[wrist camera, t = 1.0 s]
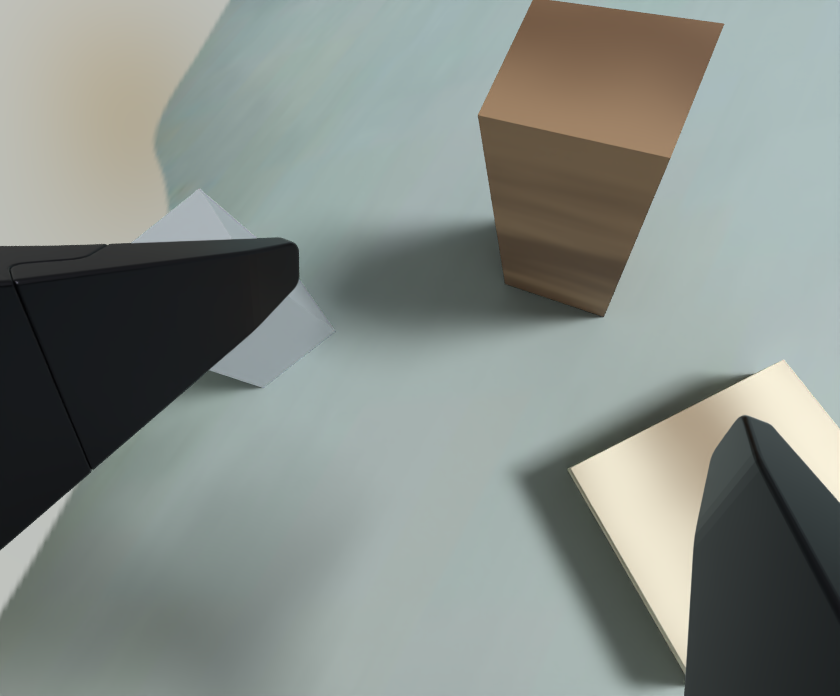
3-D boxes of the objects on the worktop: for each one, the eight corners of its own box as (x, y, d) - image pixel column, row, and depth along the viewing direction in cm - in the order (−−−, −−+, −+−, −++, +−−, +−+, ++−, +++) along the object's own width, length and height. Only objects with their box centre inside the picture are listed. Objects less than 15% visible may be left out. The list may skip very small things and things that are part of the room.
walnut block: (603, 316, 23) (670, 158, 11) (505, 283, 24) (477, 115, 13) (633, 243, 23) (724, 23, 12) (534, 216, 25) (533, -2, 14)
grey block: (263, 388, 26) (152, 351, 18) (223, 320, 28) (106, 262, 20) (336, 331, 26) (253, 270, 18) (291, 267, 28) (199, 188, 20)
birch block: (688, 681, 19) (714, 717, 16) (566, 469, 22) (570, 468, 19) (908, 580, 18) (977, 600, 15) (751, 375, 21) (783, 359, 18)
